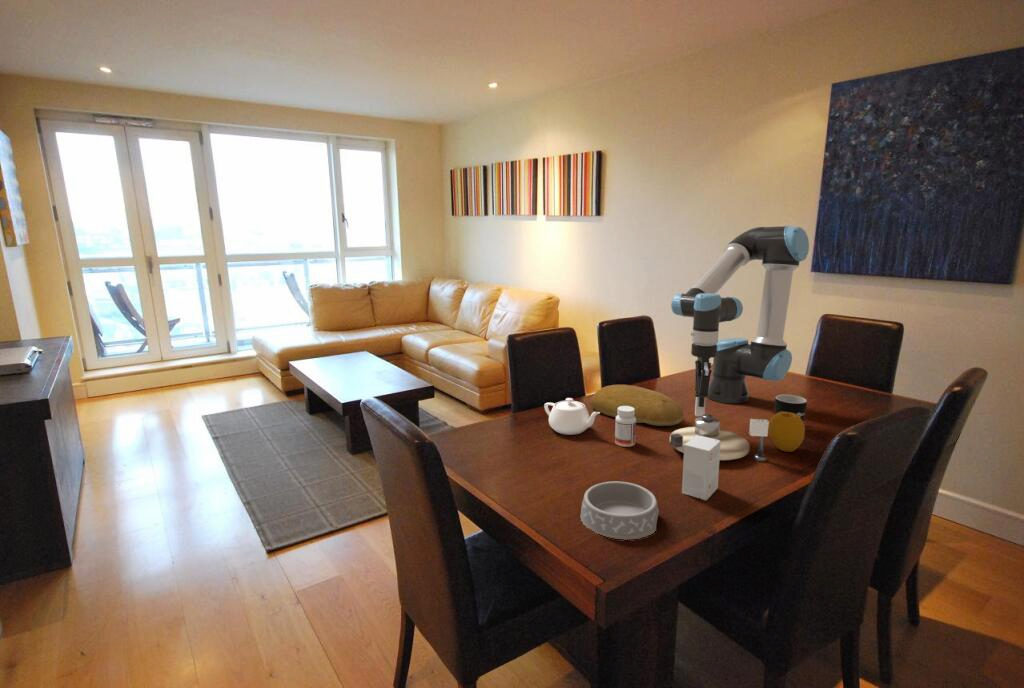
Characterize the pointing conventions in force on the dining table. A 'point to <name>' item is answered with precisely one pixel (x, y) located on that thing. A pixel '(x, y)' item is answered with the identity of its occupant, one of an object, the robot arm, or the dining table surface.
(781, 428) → the apple
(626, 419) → the pill bottle
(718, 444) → the small box
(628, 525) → the dog bowl
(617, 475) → the dining table surface
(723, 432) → the platter
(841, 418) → the dining table surface
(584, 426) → the teapot
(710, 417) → the cover
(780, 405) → the mug
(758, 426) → the silver rod with block
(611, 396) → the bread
